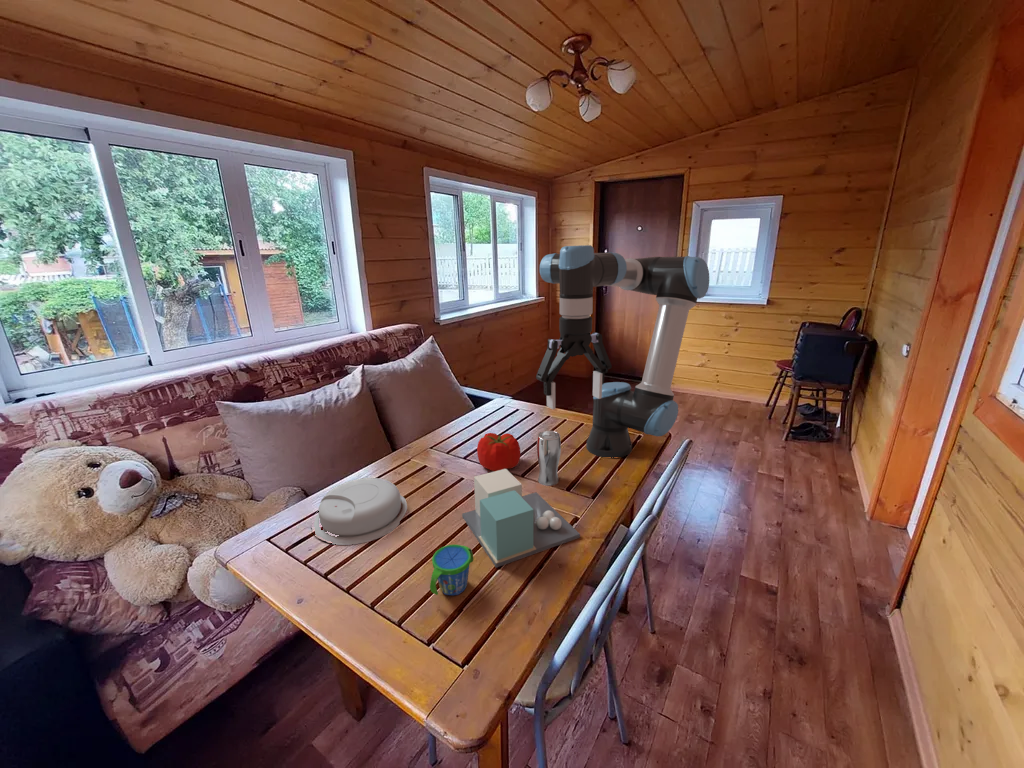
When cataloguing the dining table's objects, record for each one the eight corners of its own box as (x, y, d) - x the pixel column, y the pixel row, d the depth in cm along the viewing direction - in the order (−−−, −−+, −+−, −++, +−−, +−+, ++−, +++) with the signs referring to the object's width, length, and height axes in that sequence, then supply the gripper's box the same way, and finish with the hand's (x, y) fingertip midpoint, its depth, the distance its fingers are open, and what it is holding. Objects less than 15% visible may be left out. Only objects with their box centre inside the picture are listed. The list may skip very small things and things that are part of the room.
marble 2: (550, 517, 108) (550, 506, 107) (557, 523, 105) (557, 512, 104) (540, 520, 107) (540, 509, 106) (546, 526, 104) (546, 516, 103)
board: (536, 495, 120) (536, 491, 119) (579, 537, 102) (580, 532, 101) (462, 516, 110) (462, 512, 110) (496, 567, 92) (495, 562, 92)
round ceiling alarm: (428, 514, 112) (426, 494, 110) (333, 560, 96) (329, 536, 94) (383, 480, 130) (381, 461, 128) (296, 513, 114) (293, 493, 112)
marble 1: (544, 523, 105) (544, 512, 105) (551, 530, 103) (551, 519, 102) (534, 526, 104) (534, 516, 103) (540, 533, 102) (540, 522, 101)
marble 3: (557, 523, 105) (557, 513, 104) (564, 530, 103) (564, 519, 102) (546, 527, 104) (547, 516, 103) (553, 533, 101) (553, 523, 101)
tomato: (470, 472, 132) (469, 441, 129) (488, 454, 144) (487, 425, 141) (511, 480, 128) (510, 448, 124) (526, 461, 139) (526, 431, 136)
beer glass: (558, 488, 123) (559, 440, 118) (535, 486, 124) (535, 439, 120) (561, 476, 129) (562, 430, 125) (538, 474, 131) (538, 429, 126)
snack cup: (445, 614, 81) (442, 582, 78) (419, 594, 85) (416, 563, 83) (486, 579, 89) (485, 549, 87) (461, 563, 94) (459, 534, 91)
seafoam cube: (515, 526, 104) (514, 490, 101) (533, 547, 96) (533, 509, 93) (481, 537, 100) (479, 500, 97) (497, 560, 92) (496, 520, 90)
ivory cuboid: (506, 501, 115) (505, 468, 112) (522, 519, 107) (521, 484, 104) (475, 510, 111) (473, 476, 108) (489, 529, 103) (488, 493, 100)
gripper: (608, 308, 106) (605, 389, 113) (520, 319, 96) (522, 407, 103) (629, 312, 100) (624, 397, 107) (536, 324, 90) (538, 417, 96)
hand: (574, 402), depth 105 cm, fingers open, 13 cm apart
